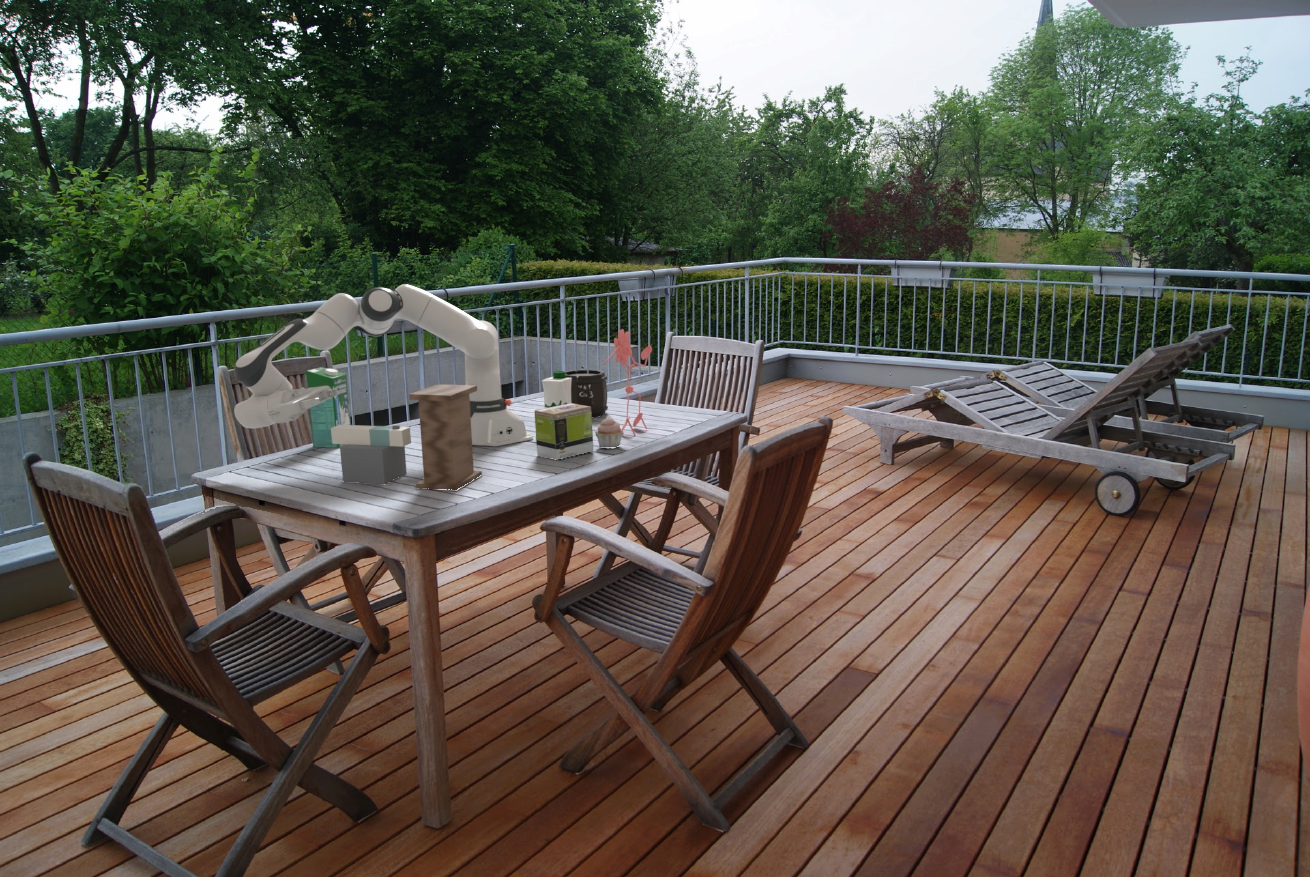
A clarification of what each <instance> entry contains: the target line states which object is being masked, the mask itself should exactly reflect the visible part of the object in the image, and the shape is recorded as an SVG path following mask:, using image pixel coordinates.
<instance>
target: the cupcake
mask: <svg viewBox="0 0 1310 877" xmlns="http://www.w3.org/2000/svg"><path fill="white" fill-rule="evenodd" d="M621 429H622V428H621V425H620V423H619V422H618V421H617V420H614V418H612V417H611V416H609V415H608V416H607V417H606V418H605V419H603V420H601V422H600V424H599V425H598V427H597V431H594V434H595V436H596V438H597V441H598V447H599V448H600V447H617V446H619V445H620V446H621V441H622V438H623V436H624V433H625V432H624V430H623V431H621ZM620 446H619V447H620Z"/></svg>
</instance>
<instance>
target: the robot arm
mask: <svg viewBox="0 0 1310 877" xmlns="http://www.w3.org/2000/svg"><path fill="white" fill-rule="evenodd" d="M398 319H401V320H405V321H408V322H410V323H411V324H413V325H416V326H417V327H419V328H420V329H423V330H425V331H427V332H429V333H431V334H432V335H435V336H436V337H438V338H440V339H442V340H443V341H445V342H446V343H447V344H449V345H451V346H452V347H455V348H456V349H458V350H459V351H461V352H463V353H464V372H465V373H464V375H465V376H464V377H465V379H464V380H465V385H477V391H476V392H473V393H471V394H469V398H470V416H471V433H472V446H487V447H488V446H489V447H500V446H504V445H511V444H516V443H520V442H526V441H532V440H533V439H534V436H533V433H531V432H529V431H527V429H526V425H525V422H524V420H523V419H522V418H521V417H520V416H518V415H517V414H516V413H514V412H513V411H511V410H510V409H508V407H511V406H512V404H513V402H512V400H510V399H509V398H507V399H506V398H503V397H502V394H501V391H502V390H501V376H500V375H501V374H500V373H501V370H500V351H499V349H500V347H499V346H500V345H499V334H498V330H497V328H496V327H495V326H494V325H493V323H491V322H489V321H486V320H481V319H479V320H478V319H476V318H475V317H473V316H471V315H470V314H468V313H466V312H465V311H463V310H461V309H460V308H458V307H457V306H455V305H453V304H451V303H449V302H447V301H446V300H444V299H442V298H440V297H438V296H436V295H434V294H432V293H431V292H429V291H427V290H425V289H422V288H420V287H416V286H414V285H410V284H407V283H406V284H405V283H404V284H401V285H399V286H397V287H396V288H386V287H383V286H381V287H378V286H377V287H373V288H370V289H368V290H367V291H366V292H365V293H364V294H363V296H362V297H361V299H357V298H356V299H355V298H354V296H351V295H350V294H347V293H345V292H344V293H343V292H341V293H340V292H339V293H335V294H334V295H333V296H331V297H330V298H329V299H328V300H326V301H325V302H324V303H322V305H320V306H319V307H318V308H317V309H316V310H315V311H314V313H312V314H311V315H310V316H308V317H307V318H304V319H303V318H296V319H292V321H289V322H288V323H287V324H285V325H283V326H282V327H280V328H279V329H278V330H277V331H275V332H273V334H271V335H270V336H269V337H267V338H266V339H265V340H264V341H262V342H261V343H260V344H258V345H257V346H256V347H254V348H253V349H251V350H249V351H247V352H246V353H244V354H242V355H241V356H240V357H239V358H237V360H236V361H235V364H234V368H233V372H234V373H233V376H234V378H235V380H236V381H238V382H239V383H240V384H241V385H243V387H246V388H247V389H248V390H249V391H250V392H251V393H252V395H251V396H250V397H248V399H246V400H243V401H240V402H239V403H237V404H236V405H235V406H234V408H233V409H234V411H233V412H234V417H235V419H236V420H237V422H238V423H239V424H240V425H241V426H242V427H244V428H246V429H259V428H264V427H265V428H266V427H269V426H271V425H274V424H283V423H288V422H291V421H297V420H298V419H299V418H301V416H302V415H303V414H304V413H305V412H307V411H308V410H310V408H311V407H313V406H316V405H318V404H320V403H322V402H324V401H326V400H328V399H330V398H332V397H333V396H337V395H338V394H339V393H338V390H337V389H333V390H331V388H330V387H329V386H320V387H313V388H308V387H307V388H305V387H302V386H301V387H299V388H295V389H294V387H293V384H291V382H290V381H289V380H288V379H287V378H286V376H284V375H283V374H282V373H281V372H280V371H279V370H278V368H276V367H275V366H274V365H273V363H272V359H273V358H275V357H276V356H277V355H278V354H279V353H281V352H282V351H283V350H285V348H287V347H289V345H291V344H294V343H296V342H297V343H301V344H302V345H306V347H309V348H313V349H315V350H319V351H327V350H331V349H333V348H335V347H336V346H337V345H338V344H339V343H340V342H341V341H342V340H343V339H344V338H345V337H346V335H347V334H348V333H349V332H350V331H351V330H352V329H353V328H354V329H355V330H356V331H360V332H362V333H364V334H365V335H366V336H369V337H374V338H375V337H376V338H377V337H381V336H385V335H386V334H387V333H388V332H389V331H390V330H391V329H392V327H393V324H394V322H395V320H398Z"/></svg>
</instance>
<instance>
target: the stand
mask: <svg viewBox="0 0 1310 877" xmlns="http://www.w3.org/2000/svg"><path fill="white" fill-rule="evenodd" d="M476 391H477V385H466V384H441V383H440V384H439V383H438V384H433V385H432V386H428V387H426V388H423V389H420V390H417V391H414V392H411V393H409V394H408V395H409V396H408V397H409V400H411V401H418V412H419V413H418V414H419V426H420V442H421V454H422V456H421V457H422V467H423V468H422V469H423V470H422V471H423V479H422V480H420V481H418V482H416V483H415V489H416V488H427V489H428V488H429V489H447V490H448V489H450V490H451V489H452V490H457V489H458V488H460V487H462V486H464V485H465V484H467V483H469V482H471V481H472V480H473V479H476V478H477V477H479V476H480V475H482V476H483V472H482V470H474V455H473V454H474V453H473V452H474V451H473V445H472V433H471V416H470V398H469V394H471V393H473V392H476ZM476 480H477V479H476Z"/></svg>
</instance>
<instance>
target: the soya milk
mask: <svg viewBox="0 0 1310 877" xmlns="http://www.w3.org/2000/svg"><path fill="white" fill-rule="evenodd" d="M552 373H553V374H552V375H553V376H551V377H546V378H544V379H542V380H541V383H542V388H543V389H542V390H543V401H544V402H543V405H544V406H543V409H544V408H549V407H554V406H559V405H564V404H569V403H571V380H572V378H568V377H565V371H563V370H559V371H558V370H557V371H553V372H552Z"/></svg>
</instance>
